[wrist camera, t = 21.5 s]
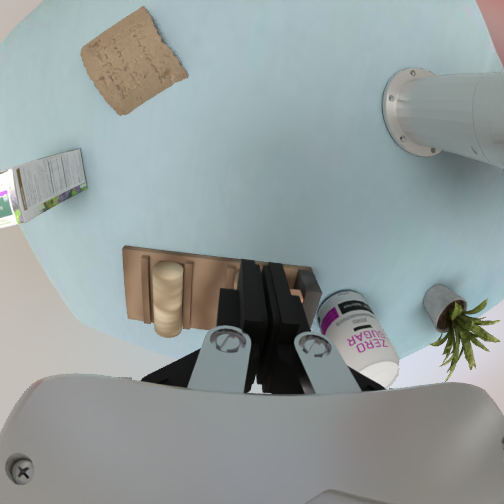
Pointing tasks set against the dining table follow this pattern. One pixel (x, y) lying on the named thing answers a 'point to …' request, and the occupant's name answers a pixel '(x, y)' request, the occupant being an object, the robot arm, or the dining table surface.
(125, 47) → the clay tablet
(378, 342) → the supplement can
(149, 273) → the track
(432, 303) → the house plant
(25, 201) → the syrup box
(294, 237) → the dining table surface
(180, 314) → the under roller
